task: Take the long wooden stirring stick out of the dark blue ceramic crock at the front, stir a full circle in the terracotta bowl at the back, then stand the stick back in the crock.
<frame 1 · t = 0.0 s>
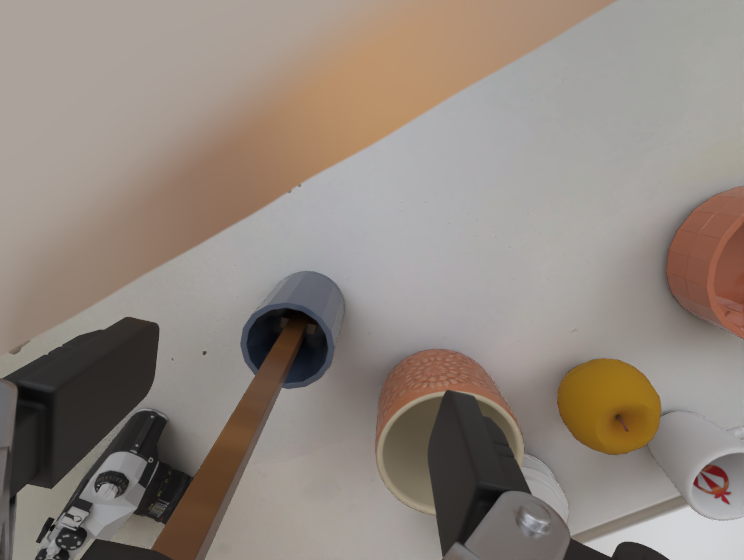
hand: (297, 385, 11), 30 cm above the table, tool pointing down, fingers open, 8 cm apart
cup: (684, 427, 46), on the table
bowl: (731, 254, 40), on the table
crock: (308, 305, 43), on the table
camera: (152, 467, 49), on the table
apple: (582, 377, 44), on the table
lid: (499, 490, 48), on the table
planter: (433, 387, 45), on the table
stick: (307, 307, 42), point 1 cm above the table, touching crock
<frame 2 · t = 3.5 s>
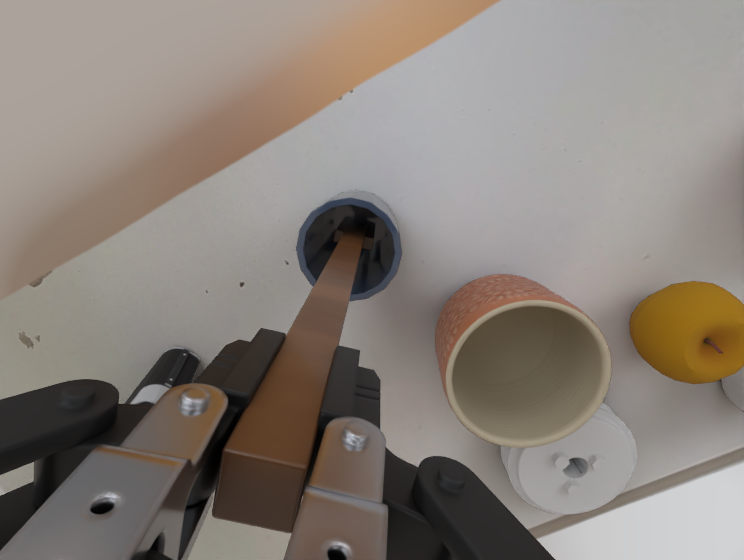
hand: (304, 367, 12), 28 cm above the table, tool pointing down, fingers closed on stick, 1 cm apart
crock: (356, 230, 39), on the table
camera: (182, 413, 45), on the table
apple: (652, 311, 41), on the table
lid: (556, 438, 45), on the table
planter: (490, 323, 41), on the table
stick: (357, 230, 38), point 1 cm above the table, touching crock, gripper
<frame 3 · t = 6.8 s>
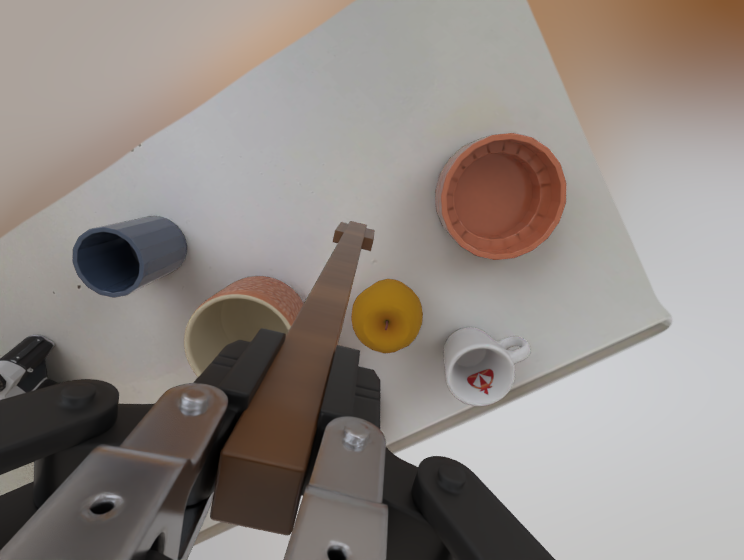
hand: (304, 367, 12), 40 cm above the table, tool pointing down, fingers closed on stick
cup: (476, 343, 55), on the table
bowl: (489, 195, 50), on the table
crock: (158, 245, 53), on the table
camera: (47, 386, 59), on the table
apple: (387, 301, 54), on the table
planter: (268, 312, 55), on the table
stick: (356, 231, 39), point 13 cm above the table, touching gripper
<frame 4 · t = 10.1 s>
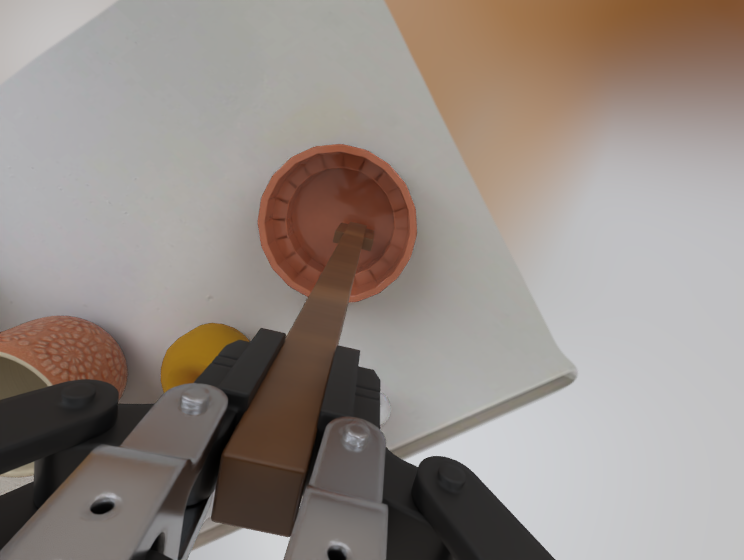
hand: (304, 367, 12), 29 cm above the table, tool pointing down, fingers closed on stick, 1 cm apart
bowl: (343, 219, 40), on the table
apple: (230, 345, 44), on the table
planter: (88, 357, 45), on the table
stick: (356, 231, 39), point 2 cm above the table, touching gripper
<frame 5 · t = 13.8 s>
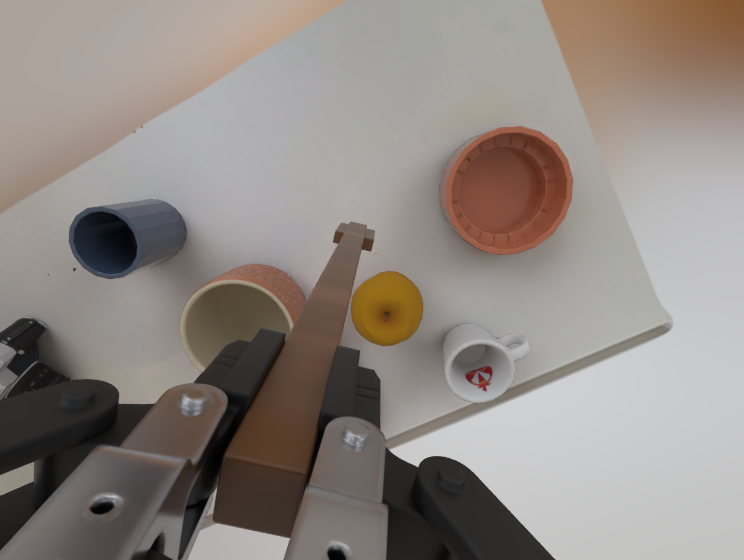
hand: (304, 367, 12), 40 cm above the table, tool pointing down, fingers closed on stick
cup: (476, 339, 55), on the table
bowl: (494, 190, 50), on the table
crock: (156, 229, 52), on the table
camera: (37, 370, 58), on the table
apple: (386, 295, 54), on the table
planter: (266, 302, 54), on the table
stick: (356, 231, 39), point 13 cm above the table, touching gripper
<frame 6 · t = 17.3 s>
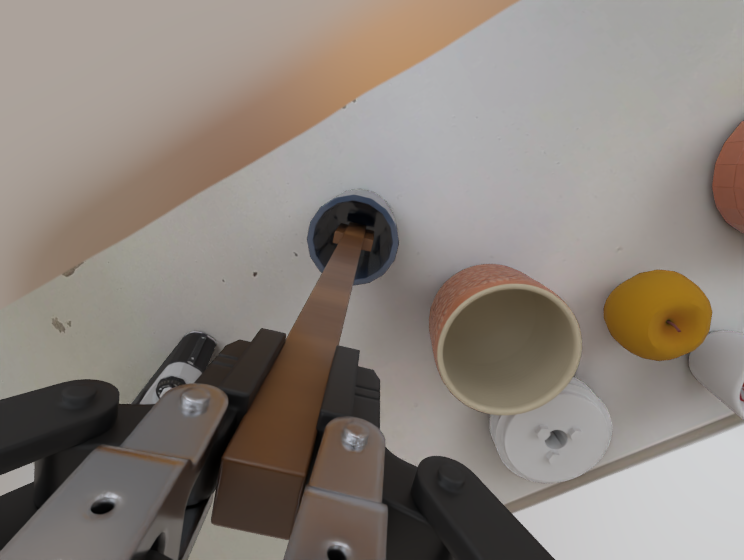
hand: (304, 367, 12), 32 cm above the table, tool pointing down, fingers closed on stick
cup: (724, 349, 46), on the table
crock: (359, 224, 44), on the table
camera: (199, 393, 49), on the table
apple: (625, 298, 45), on the table
lid: (540, 415, 49), on the table
planter: (479, 309, 46), on the table
stick: (356, 231, 39), point 5 cm above the table, touching gripper
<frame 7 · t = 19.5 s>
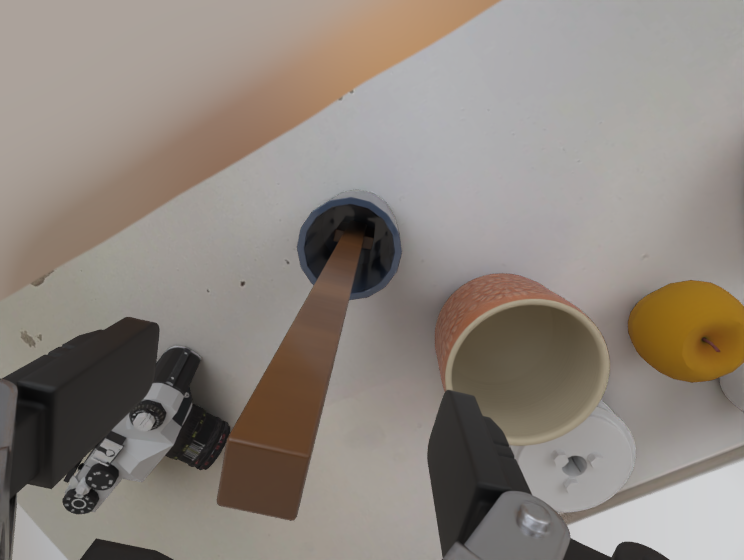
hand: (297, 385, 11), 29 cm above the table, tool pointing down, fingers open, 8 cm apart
crock: (357, 229, 39), on the table
camera: (183, 412, 45), on the table
apple: (650, 310, 41), on the table
lid: (555, 437, 45), on the table
planter: (489, 322, 42), on the table
stick: (357, 230, 39), point 1 cm above the table, touching crock
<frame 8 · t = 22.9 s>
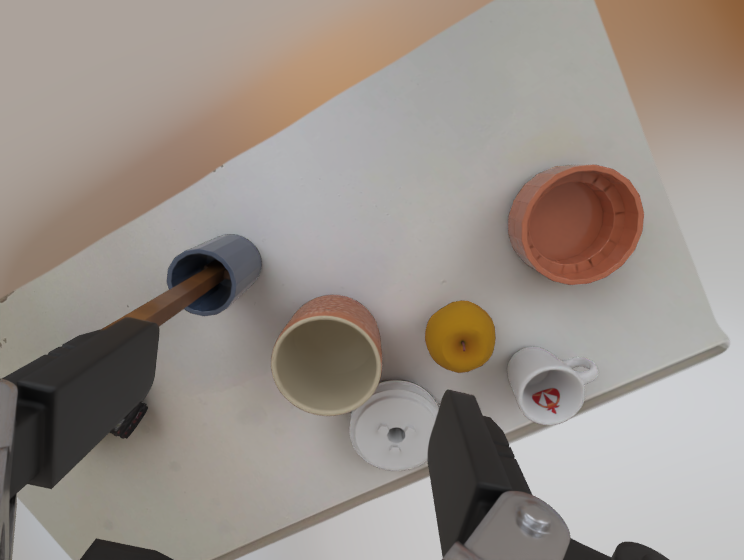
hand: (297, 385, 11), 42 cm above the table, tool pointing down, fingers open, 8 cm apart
cup: (538, 361, 57), on the table
bowl: (559, 220, 52), on the table
crock: (233, 262, 54), on the table
camera: (114, 397, 60), on the table
apple: (453, 320, 56), on the table
lid: (395, 415, 60), on the table
planter: (336, 329, 56), on the table
stick: (232, 263, 53), point 1 cm above the table, touching crock
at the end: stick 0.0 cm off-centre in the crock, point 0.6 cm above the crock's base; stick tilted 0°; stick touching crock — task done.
